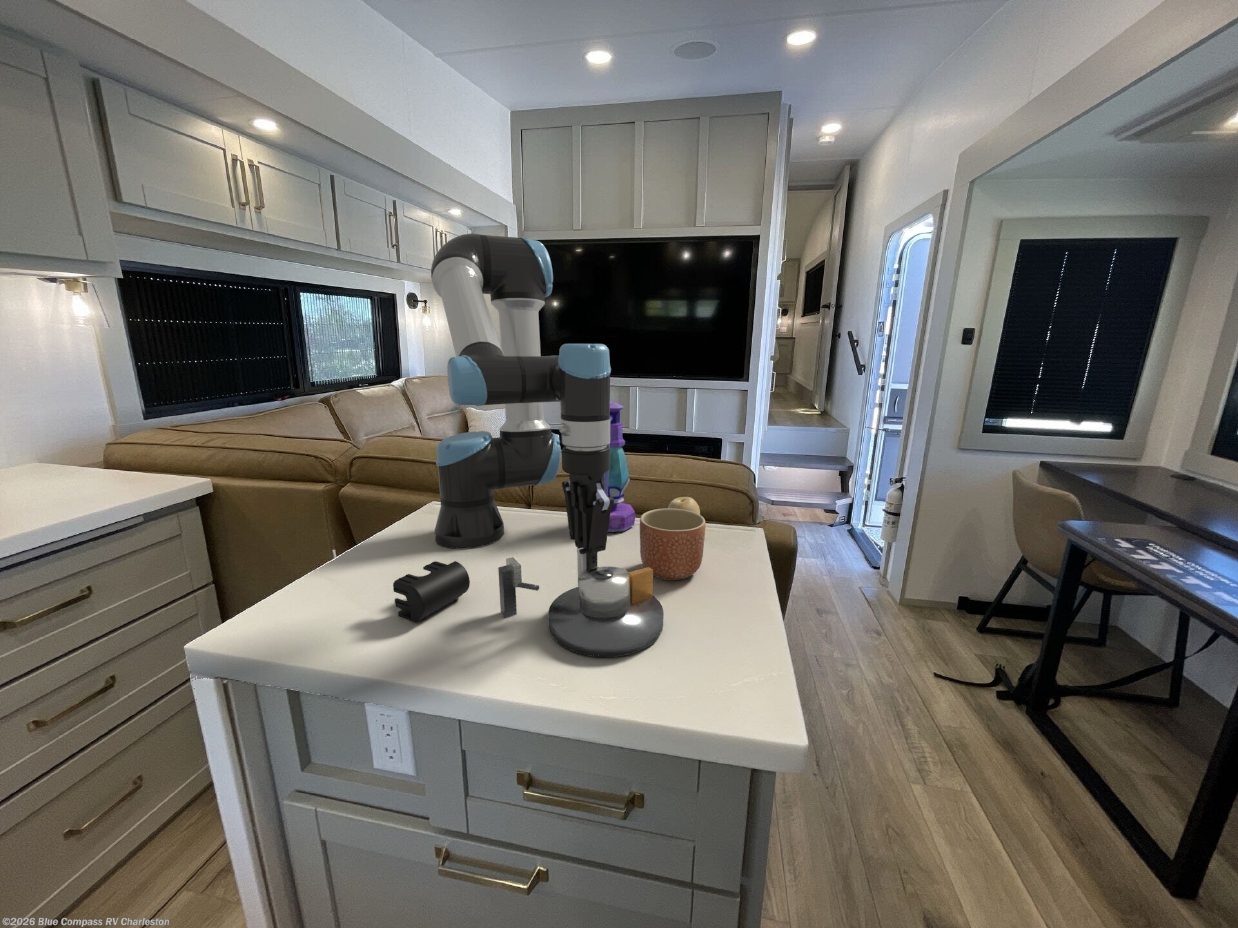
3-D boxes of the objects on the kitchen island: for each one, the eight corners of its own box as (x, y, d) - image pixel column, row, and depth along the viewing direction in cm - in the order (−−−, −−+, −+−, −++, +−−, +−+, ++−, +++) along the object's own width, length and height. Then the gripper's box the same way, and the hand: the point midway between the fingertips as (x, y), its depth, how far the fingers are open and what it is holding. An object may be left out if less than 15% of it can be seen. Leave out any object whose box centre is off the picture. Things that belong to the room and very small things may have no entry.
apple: (708, 528, 117) (698, 505, 113) (676, 540, 118) (666, 518, 113) (699, 507, 123) (689, 485, 119) (669, 519, 124) (659, 498, 120)
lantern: (594, 514, 126) (594, 397, 119) (639, 517, 124) (641, 399, 117) (580, 533, 114) (579, 404, 106) (630, 537, 111) (632, 406, 104)
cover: (570, 604, 78) (568, 572, 78) (612, 590, 83) (611, 560, 82) (596, 623, 72) (594, 588, 71) (640, 607, 76) (639, 574, 75)
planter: (686, 593, 87) (689, 536, 84) (626, 576, 93) (627, 522, 91) (712, 567, 97) (715, 515, 94) (657, 553, 103) (658, 504, 101)
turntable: (530, 611, 80) (529, 571, 78) (623, 583, 89) (623, 548, 88) (582, 672, 65) (581, 626, 64) (686, 632, 75) (688, 590, 73)
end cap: (425, 629, 76) (421, 589, 74) (394, 617, 79) (389, 579, 77) (471, 600, 84) (469, 564, 83) (442, 590, 87) (439, 555, 86)
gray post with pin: (499, 609, 81) (496, 560, 79) (526, 602, 84) (524, 554, 81) (512, 628, 76) (510, 576, 74) (541, 619, 78) (539, 569, 76)
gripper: (545, 441, 79) (550, 575, 85) (585, 456, 68) (587, 609, 74) (586, 437, 83) (588, 565, 89) (629, 451, 72) (628, 596, 78)
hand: (587, 585), depth 81 cm, fingers closed
